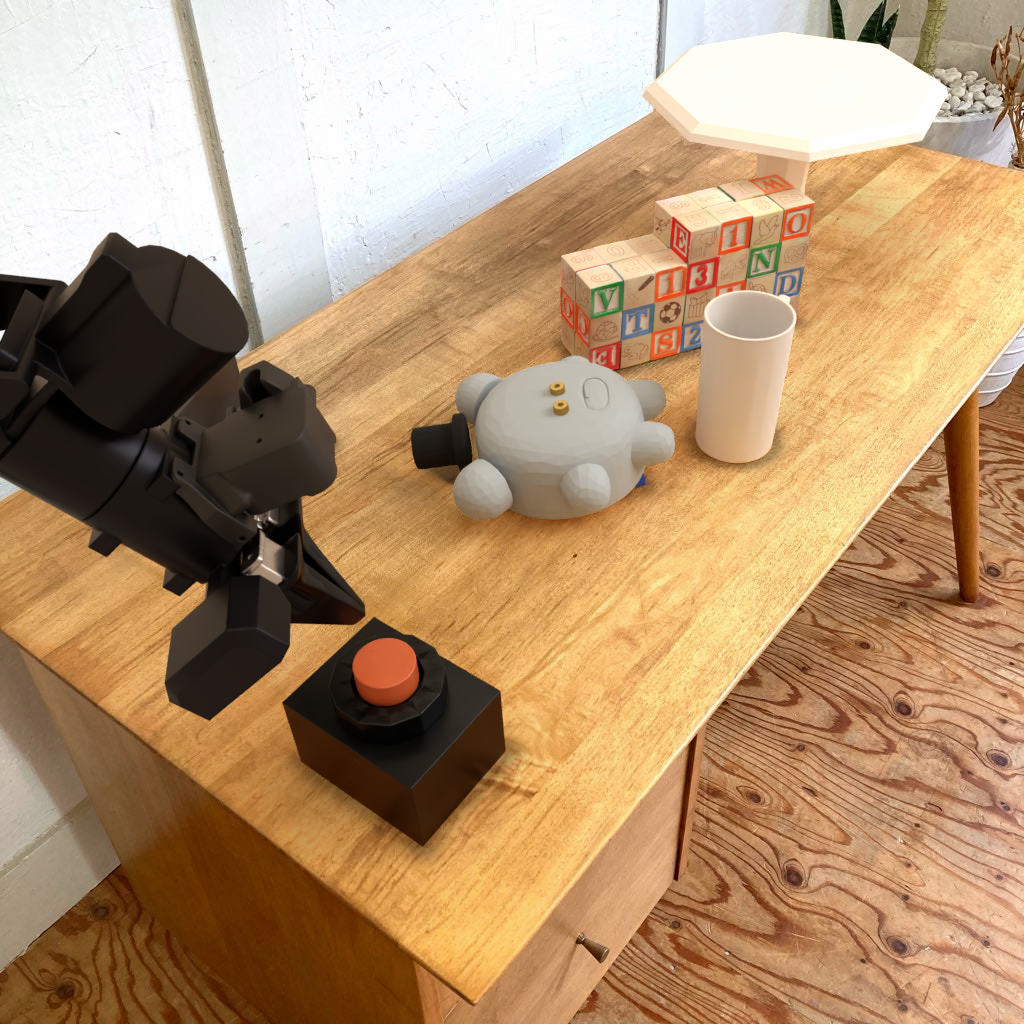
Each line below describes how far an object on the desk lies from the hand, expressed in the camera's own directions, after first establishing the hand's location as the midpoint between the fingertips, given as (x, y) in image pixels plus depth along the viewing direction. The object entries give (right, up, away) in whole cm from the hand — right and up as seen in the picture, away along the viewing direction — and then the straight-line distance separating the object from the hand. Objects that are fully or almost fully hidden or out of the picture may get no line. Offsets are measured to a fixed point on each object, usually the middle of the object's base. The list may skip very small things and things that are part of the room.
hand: (360, 615), depth 58 cm
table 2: (+35, +33, +51) cm, 70 cm away
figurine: (+11, +9, +26) cm, 30 cm away
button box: (+2, -10, +7) cm, 12 cm away
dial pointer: (-15, +11, +26) cm, 32 cm away
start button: (+1, -4, +2) cm, 5 cm away
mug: (+28, +12, +29) cm, 42 cm away
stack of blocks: (+24, +22, +40) cm, 51 cm away
